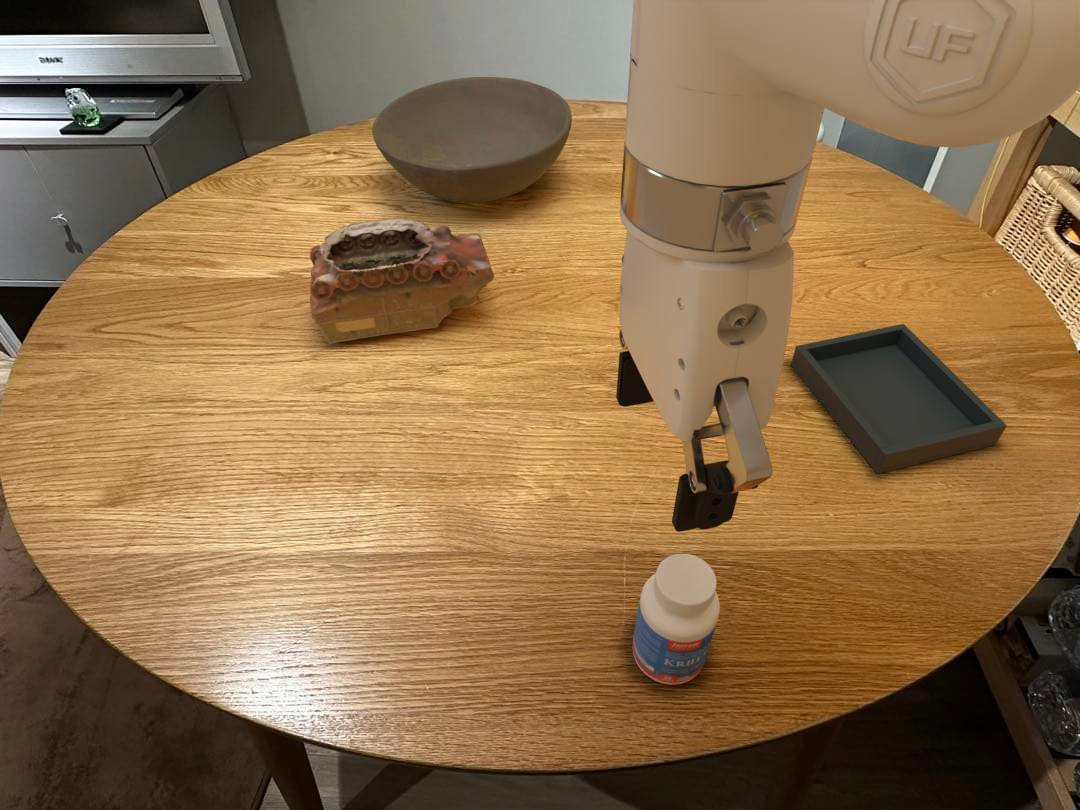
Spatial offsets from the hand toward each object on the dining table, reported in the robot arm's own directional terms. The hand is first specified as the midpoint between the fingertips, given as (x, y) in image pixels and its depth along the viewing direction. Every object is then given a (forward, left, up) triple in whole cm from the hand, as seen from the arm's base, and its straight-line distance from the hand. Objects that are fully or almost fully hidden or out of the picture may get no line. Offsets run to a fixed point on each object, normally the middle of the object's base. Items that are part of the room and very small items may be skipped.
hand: (669, 456), depth 44 cm
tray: (+17, -32, -20) cm, 41 cm away
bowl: (+72, -3, -20) cm, 74 cm away
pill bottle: (-2, -1, -20) cm, 20 cm away
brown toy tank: (+46, +11, -20) cm, 51 cm away
